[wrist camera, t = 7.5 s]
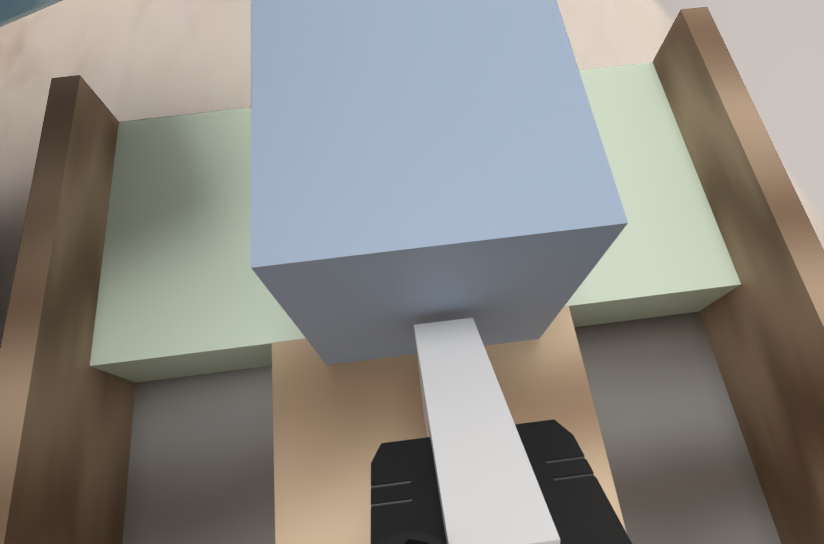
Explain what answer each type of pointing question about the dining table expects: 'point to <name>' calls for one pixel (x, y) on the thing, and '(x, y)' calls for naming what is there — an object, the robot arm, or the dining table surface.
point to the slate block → (422, 169)
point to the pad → (264, 317)
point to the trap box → (400, 382)
